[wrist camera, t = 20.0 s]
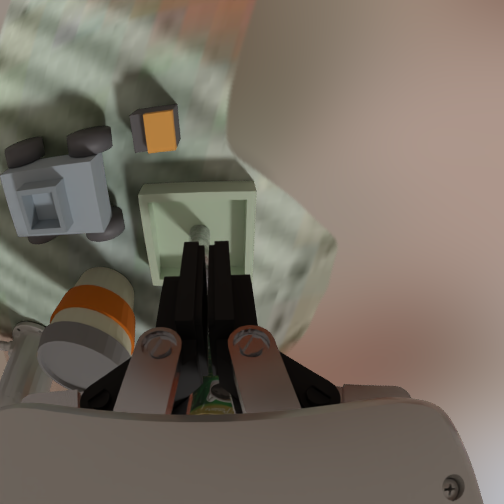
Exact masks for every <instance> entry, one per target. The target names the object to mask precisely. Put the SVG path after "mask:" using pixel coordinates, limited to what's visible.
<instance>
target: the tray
mask: <svg viewBox="0 0 504 504" xmlns="http://www.w3.org/2000/svg"><path fill="white" fill-rule="evenodd" d="M256 192H257V191H256V187H255V184H254V181H206V182H177V183H156V184H143V186H142V188H141V190H140V192H139V194H138V199H139V206H140V213H141V219H142V226H143V232H144V238H145V244H146V250H147V255H148V261H149V266H150V271H151V276H152V281H153V286H163V281H164V277H165V276H180V269H181V261H182V254H183V246H184V242H189V233H190V229H191V228H192V227H193V226H195V225H205V226H206V227H208V228H209V230H210V245H214V241H229V252H230V268H231V275H244V274H250V276H251V282H252V277H253V256H254V234H255V213H256Z"/></svg>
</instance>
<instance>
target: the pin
mask: <svg viewBox="0 0 504 504" xmlns="http://www.w3.org/2000/svg"><path fill="white" fill-rule="evenodd" d="M196 241H199V245H204V246H205V262H206V278H207V292H208V257H209V245H210V230H209V228H208V227H206V226H205V225H195V226H193V227H192V228H191V229H190V233H189V242H196Z"/></svg>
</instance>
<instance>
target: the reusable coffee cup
mask: <svg viewBox="0 0 504 504" xmlns="http://www.w3.org/2000/svg"><path fill="white" fill-rule="evenodd" d="M133 306H134V290H133V287H132V285H131V284H130V282H129V281H128V280H127V278H125V277H124V276H123V275H122V274H120V273H119V272H117V271H115V270H113V269H110V268H106V267H94V268H90V269H88V270H86V271H85V272H84V273H83V274H82V276H81V277H80V278H79V280H78V281H77V283H76V284H75V286H74V287H73V288H71V289H70V290H69V291H68V292H67V293H66V294H65V295H64V297H63V298H62V300H61V302H60V303H59V305H58V306H57V308H56V309H55V311H54V312H53V314H52V316H51V319H50V325H48V326H47V327H46V328H45V329H44V330H43V332H42V334H41V338H40V342H39V346H38V350H37V360H38V363H39V365H40V367H41V368H42V369H43V371H44V372H45V373H46V374H47V375H48V376H49V377H50V378H51V379H53V380H54V381H55V382H57V383H58V384H60V385H61V386H63V387H65V388H67V389H69V390H76V389H77V390H78V391H79V392H84V390H86V389H87V388H88V387H89V386H90V385H92V384H93V383H95V382H96V381H97V380H99V379H100V378H102V377H103V376H105V375H106V374H108V373H109V372H110V371H112V370H113V369H115V368H116V367H118V366H119V365H120V364H122V363H123V362H125V361H126V360H128V359H129V358H131V355H132V353H133V351H134V342H135V316H134V313H133Z"/></svg>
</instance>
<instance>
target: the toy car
mask: <svg viewBox="0 0 504 504" xmlns="http://www.w3.org/2000/svg"><path fill="white" fill-rule="evenodd" d="M66 138H67V145H68V151H69V155H62V156H56V157H49V158H43V159H40V158H41V157H43V156H44V155H45V151H44V145H43V139H42V137H33V138H29V139H26V140H23V141H20V142H17V143H15V144H13V145H11V146H9V147H8V148H6V149H5V156H6V160H7V165H8V168H9V169H7V170H6V171H5V172H4V173H2V174H1V175H0V178H1V181H2V185H3V189H4V193H5V196H6V200H7V203H8V207H9V210H10V213H11V217H12V220H13V223H14V226H15V229H16V232H17V235H18V237H26V236H28V239H29V242H30V243H32V244H42V243H46V242H48V241H51V240H52V239H54V238H56V237H57V236H58V235H61V234H81V233H86V236H87V238H88V239H89V240H91V241H96V242H101V241H107V240H110V239H113V238H115V237H117V236H119V235H120V234H121V233H122V232H123V231H124V229H125V224H124V219H123V213H122V210H121V209H120V208H119V207H116V206H110V201H109V195H108V189H107V183H106V177H105V171H104V164H103V157H102V152H104V151H106V150H108V149H110V148H111V147H112V146H113V145H112V136H111V127H109V126H97V127H91V128H86V129H82V130H79V131H76V132H74V133H71V134H70V135H68V136H67V137H66Z"/></svg>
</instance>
